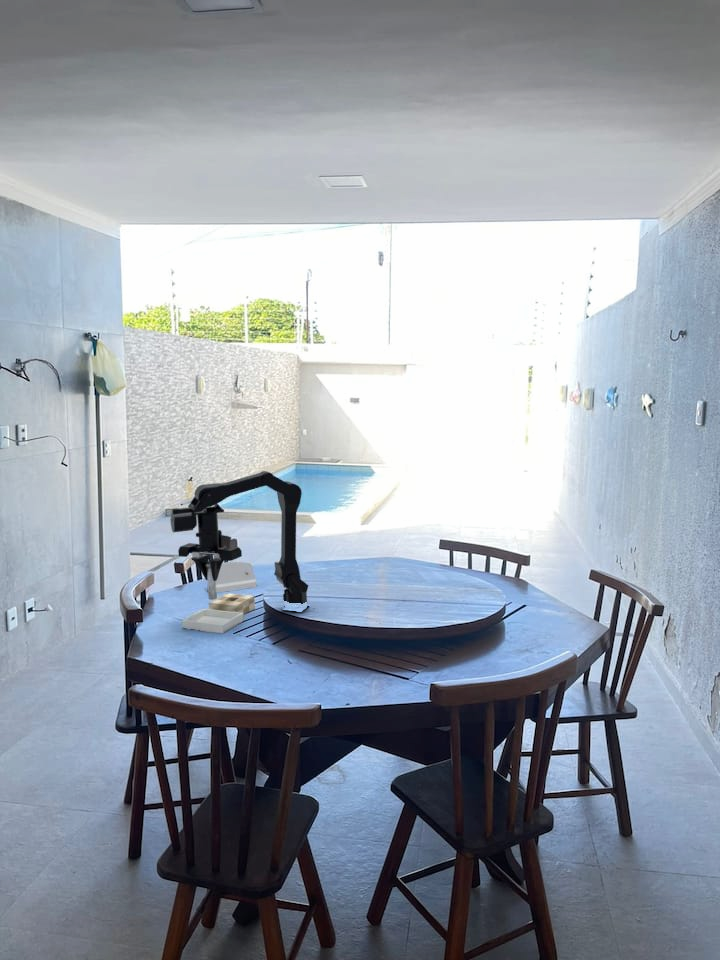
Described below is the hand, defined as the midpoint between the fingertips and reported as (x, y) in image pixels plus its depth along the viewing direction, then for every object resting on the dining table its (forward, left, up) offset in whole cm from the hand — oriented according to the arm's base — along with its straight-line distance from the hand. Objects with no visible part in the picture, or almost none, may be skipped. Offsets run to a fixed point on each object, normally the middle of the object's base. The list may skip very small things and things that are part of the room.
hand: (211, 580), depth 225 cm
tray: (0, +1, -13) cm, 13 cm away
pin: (0, 0, -6) cm, 6 cm away
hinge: (+15, -33, -14) cm, 39 cm away
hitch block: (+1, -11, -13) cm, 17 cm away
